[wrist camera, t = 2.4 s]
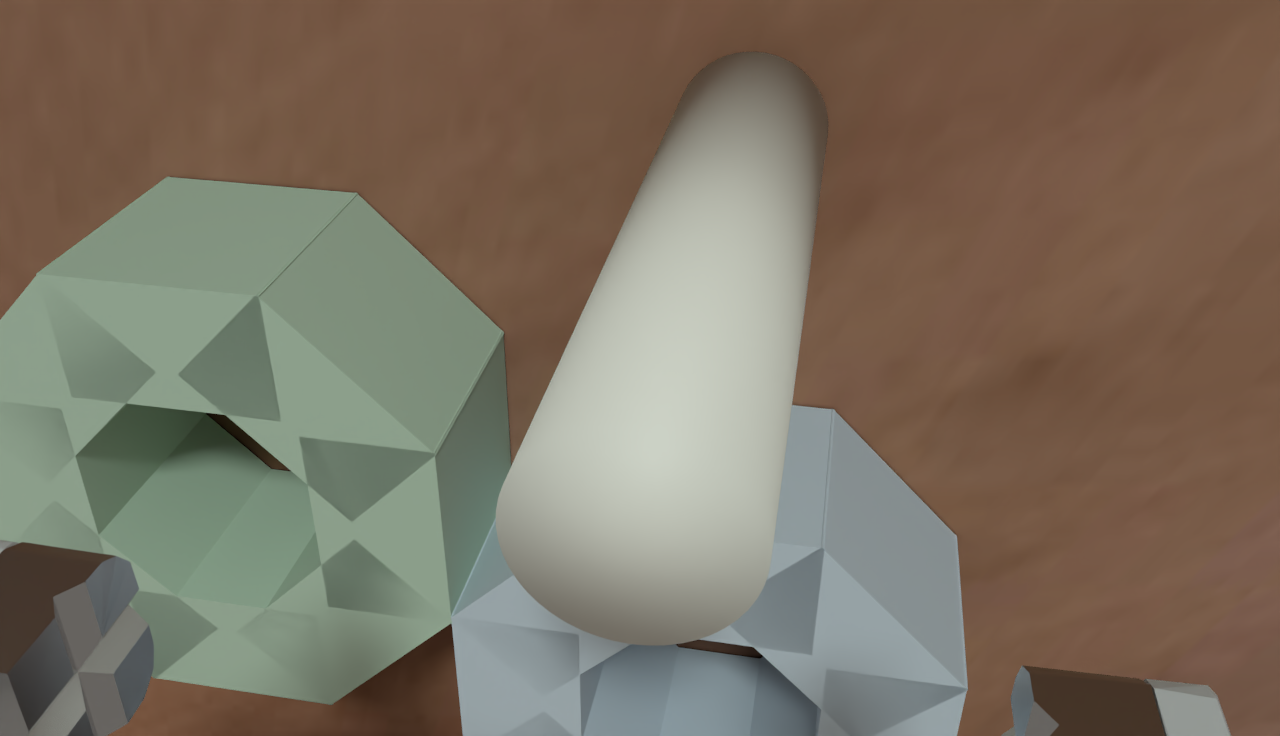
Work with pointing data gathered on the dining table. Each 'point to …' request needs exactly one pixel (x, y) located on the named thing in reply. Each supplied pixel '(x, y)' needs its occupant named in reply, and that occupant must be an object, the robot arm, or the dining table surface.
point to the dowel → (679, 375)
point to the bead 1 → (258, 430)
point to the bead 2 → (750, 626)
